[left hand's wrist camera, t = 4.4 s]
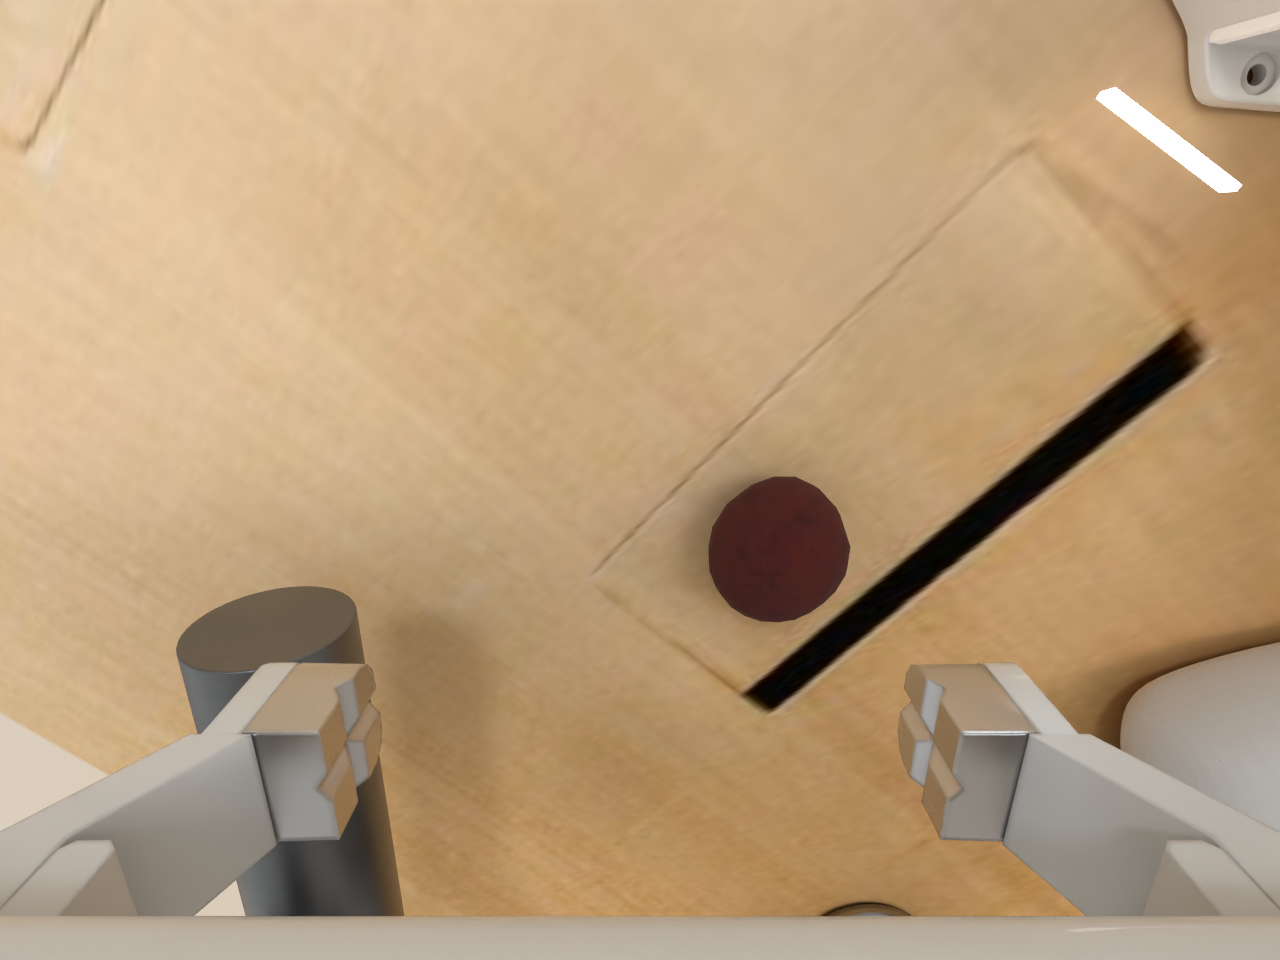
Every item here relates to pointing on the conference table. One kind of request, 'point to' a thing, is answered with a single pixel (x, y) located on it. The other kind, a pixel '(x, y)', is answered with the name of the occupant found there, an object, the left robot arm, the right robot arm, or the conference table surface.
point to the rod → (364, 855)
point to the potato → (778, 550)
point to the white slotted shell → (1215, 729)
